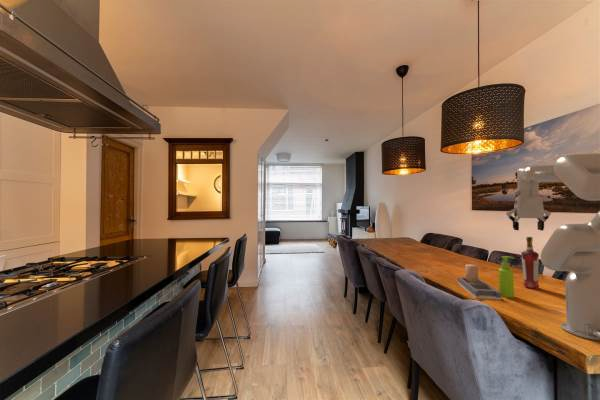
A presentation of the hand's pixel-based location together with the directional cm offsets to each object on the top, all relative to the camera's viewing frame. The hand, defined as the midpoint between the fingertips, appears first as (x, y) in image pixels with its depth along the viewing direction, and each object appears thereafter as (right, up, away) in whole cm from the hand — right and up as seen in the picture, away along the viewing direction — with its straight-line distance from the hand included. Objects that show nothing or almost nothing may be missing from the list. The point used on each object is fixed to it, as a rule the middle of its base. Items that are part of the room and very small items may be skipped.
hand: (528, 230), depth 124 cm
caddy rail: (-12, -35, +18) cm, 41 cm away
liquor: (+20, -35, +22) cm, 46 cm away
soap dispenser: (-2, -35, +10) cm, 36 cm away
